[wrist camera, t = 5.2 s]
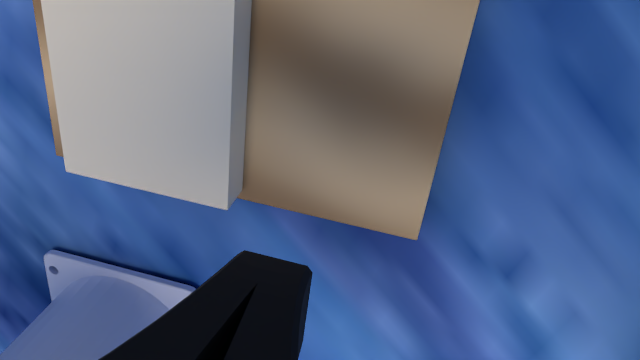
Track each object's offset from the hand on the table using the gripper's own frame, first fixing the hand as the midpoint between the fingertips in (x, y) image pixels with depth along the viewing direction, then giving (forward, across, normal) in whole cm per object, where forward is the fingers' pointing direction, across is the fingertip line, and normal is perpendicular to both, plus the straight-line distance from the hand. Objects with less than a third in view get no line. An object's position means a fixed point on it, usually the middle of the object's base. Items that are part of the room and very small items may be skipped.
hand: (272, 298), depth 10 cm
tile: (+8, +4, 0) cm, 9 cm away
